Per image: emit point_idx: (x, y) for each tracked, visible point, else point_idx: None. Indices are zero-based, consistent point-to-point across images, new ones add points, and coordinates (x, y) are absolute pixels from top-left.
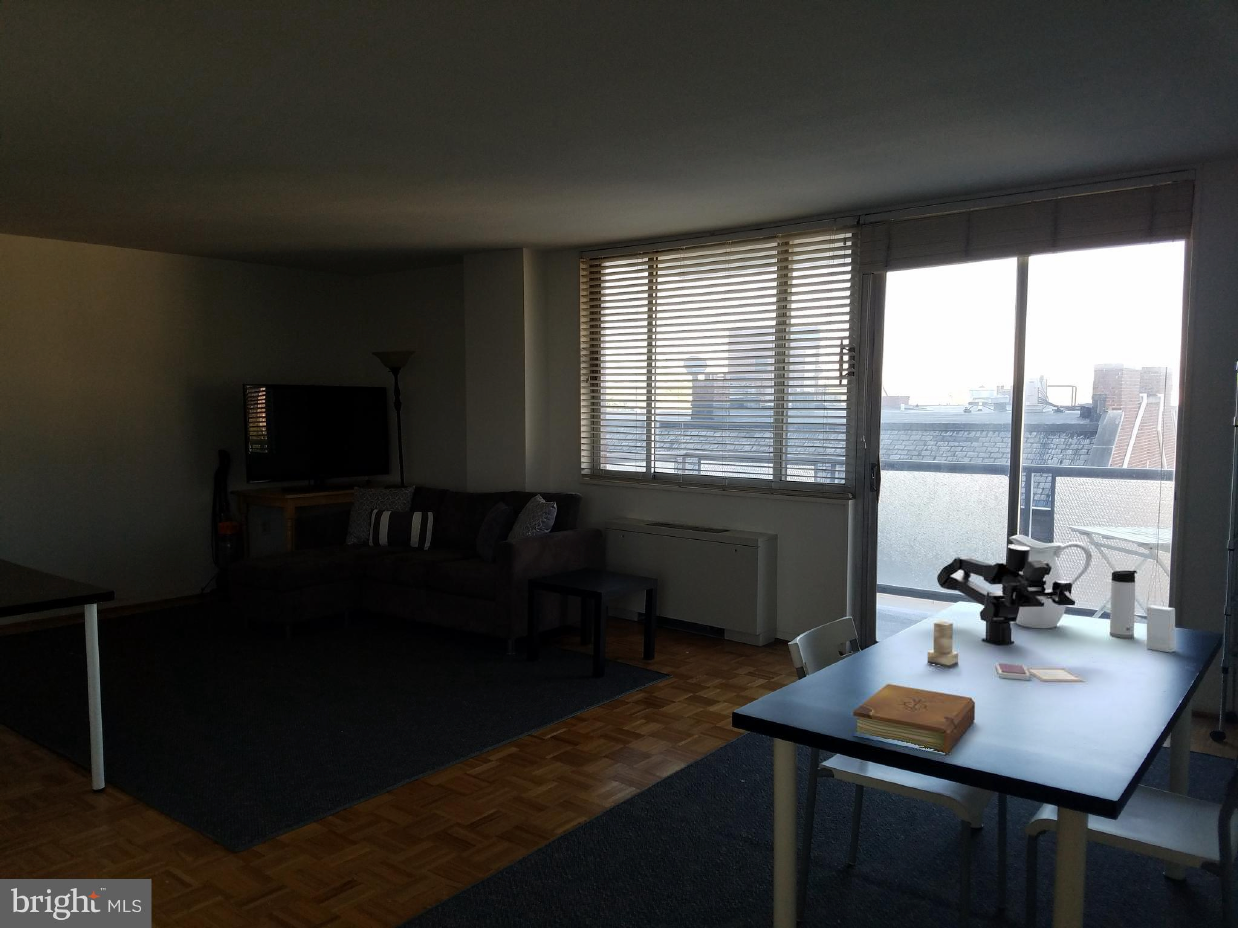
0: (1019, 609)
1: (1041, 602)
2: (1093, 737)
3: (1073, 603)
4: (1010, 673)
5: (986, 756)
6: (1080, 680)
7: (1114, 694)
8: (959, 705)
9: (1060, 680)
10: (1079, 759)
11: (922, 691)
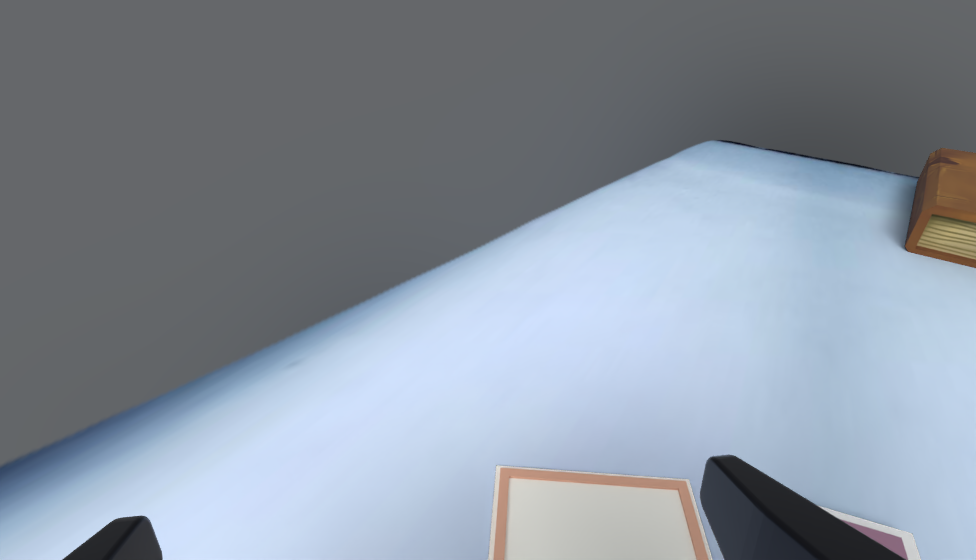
0: None
1: (752, 470)
2: (673, 207)
3: (154, 546)
4: (848, 520)
5: (856, 183)
6: (513, 469)
7: (483, 350)
8: (948, 186)
9: (604, 475)
10: (720, 175)
11: None
